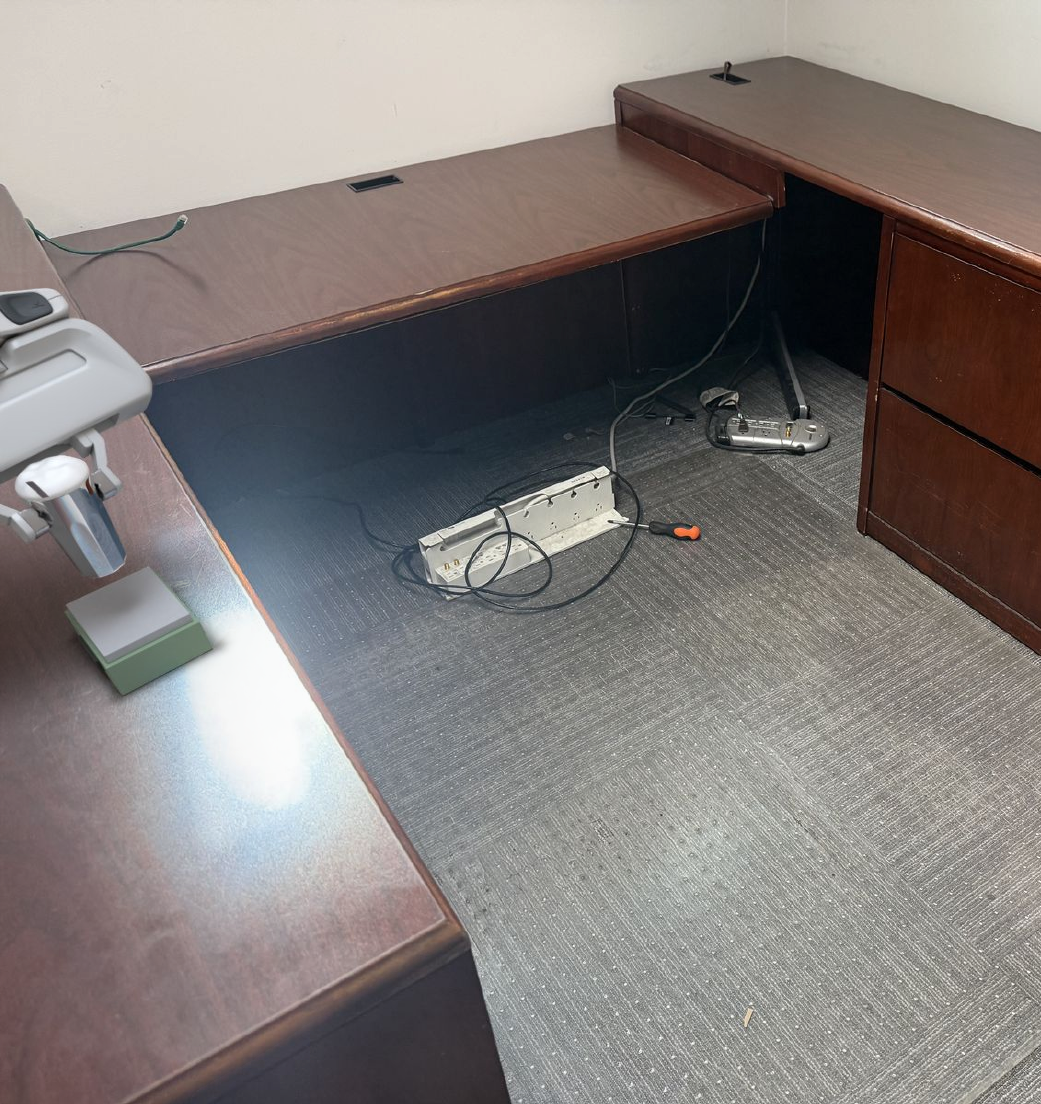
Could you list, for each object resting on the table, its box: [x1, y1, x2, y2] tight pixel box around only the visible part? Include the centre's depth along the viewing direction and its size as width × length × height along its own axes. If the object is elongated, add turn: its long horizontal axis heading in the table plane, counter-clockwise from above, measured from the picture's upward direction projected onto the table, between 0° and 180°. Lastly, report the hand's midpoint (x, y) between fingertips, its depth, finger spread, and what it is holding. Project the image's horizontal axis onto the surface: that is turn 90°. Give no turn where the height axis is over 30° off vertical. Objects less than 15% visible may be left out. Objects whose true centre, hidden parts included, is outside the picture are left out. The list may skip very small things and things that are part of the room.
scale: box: [64, 565, 214, 696], centre depth 79 cm, size 7×9×4 cm
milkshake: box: [14, 454, 128, 579], centre depth 72 cm, size 4×5×10 cm
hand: (77, 514), depth 72 cm, fingers closed on milkshake, 4 cm apart
